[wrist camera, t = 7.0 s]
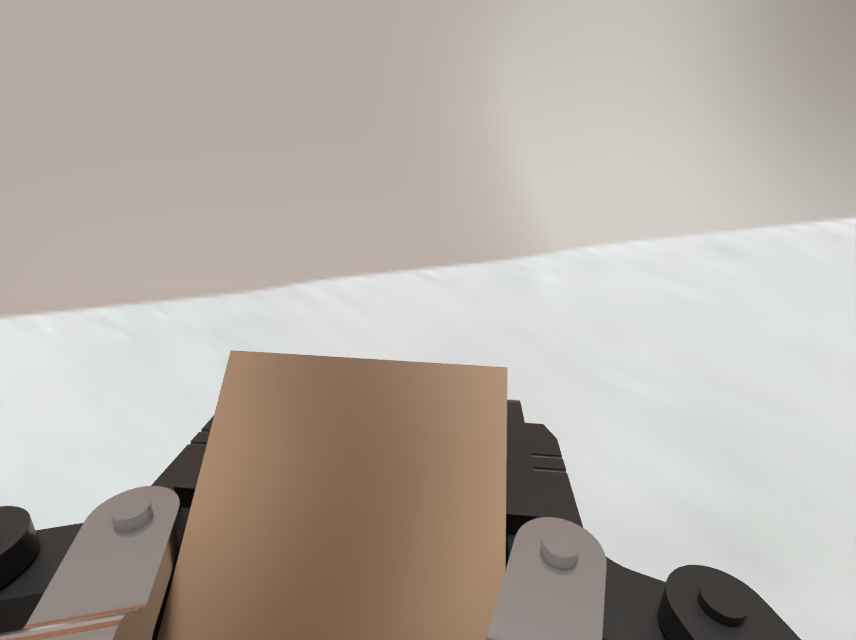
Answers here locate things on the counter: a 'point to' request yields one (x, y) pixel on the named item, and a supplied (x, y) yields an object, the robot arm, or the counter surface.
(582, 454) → the counter surface
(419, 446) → the walnut block
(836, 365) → the counter surface
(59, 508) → the counter surface
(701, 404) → the counter surface
